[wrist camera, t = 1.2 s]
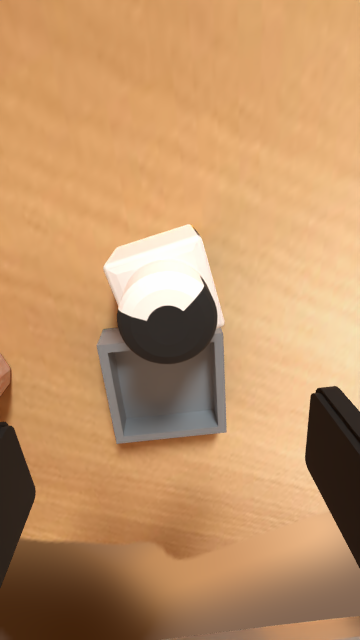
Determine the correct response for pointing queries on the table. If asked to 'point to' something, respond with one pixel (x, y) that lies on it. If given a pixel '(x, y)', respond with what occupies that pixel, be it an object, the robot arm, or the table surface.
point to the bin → (163, 391)
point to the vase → (4, 374)
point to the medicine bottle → (165, 295)
